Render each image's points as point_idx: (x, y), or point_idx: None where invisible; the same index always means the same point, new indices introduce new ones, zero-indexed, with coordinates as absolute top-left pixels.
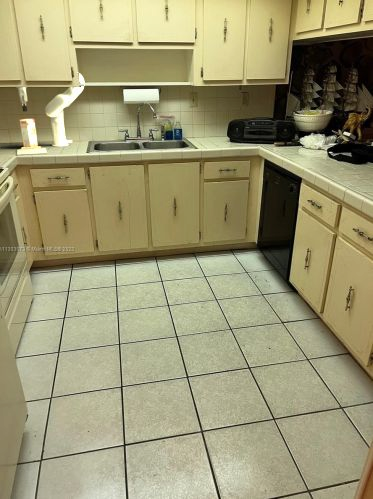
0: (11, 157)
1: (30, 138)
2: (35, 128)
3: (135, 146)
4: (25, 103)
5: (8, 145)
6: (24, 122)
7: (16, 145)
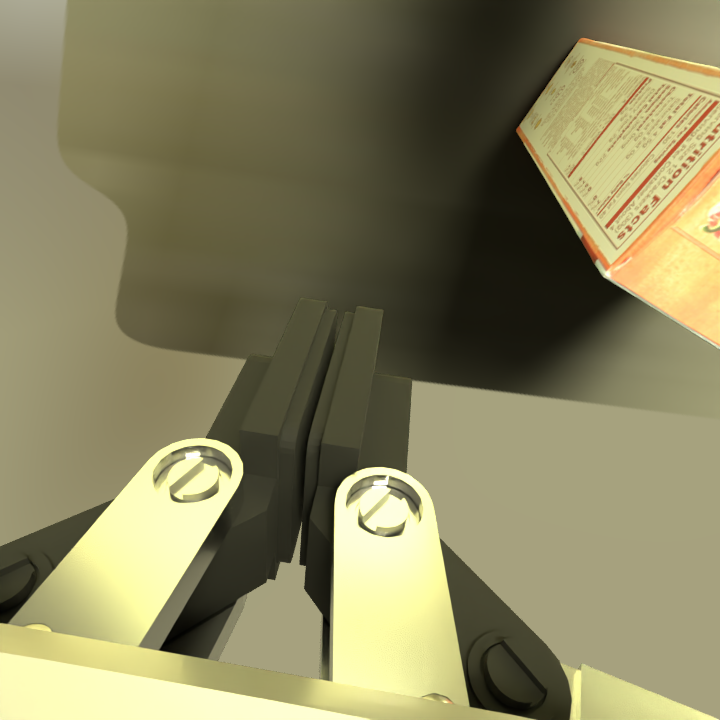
0: None
1: None
2: (675, 59)
3: None
4: (445, 632)
5: None
6: None
7: (373, 277)
